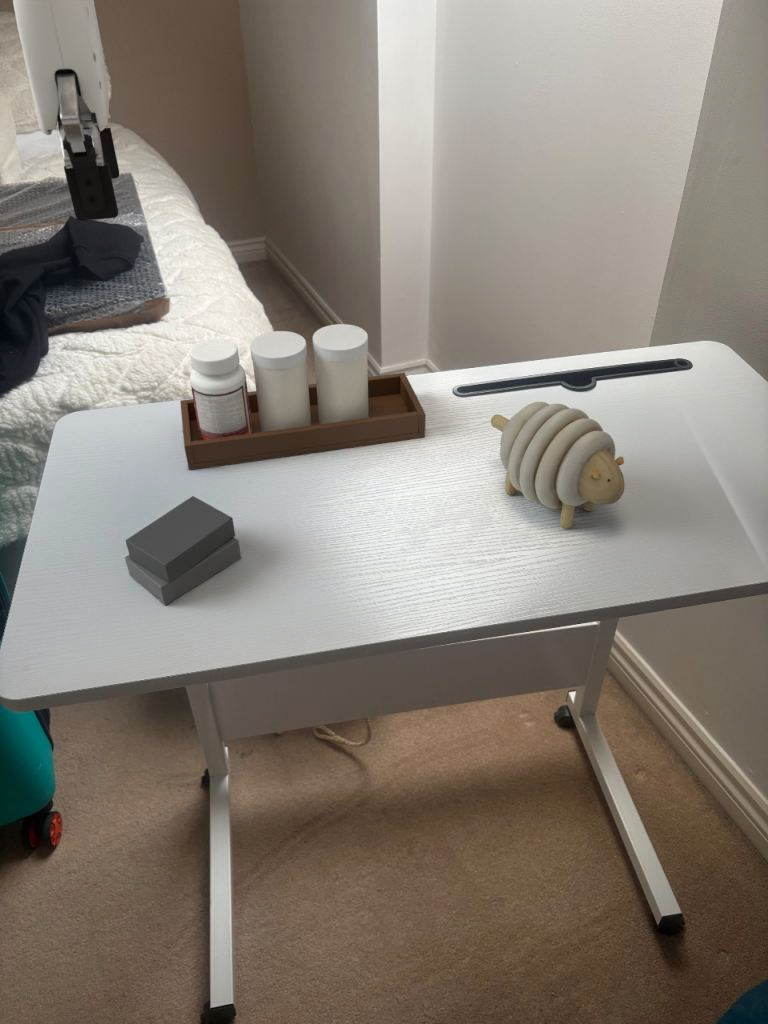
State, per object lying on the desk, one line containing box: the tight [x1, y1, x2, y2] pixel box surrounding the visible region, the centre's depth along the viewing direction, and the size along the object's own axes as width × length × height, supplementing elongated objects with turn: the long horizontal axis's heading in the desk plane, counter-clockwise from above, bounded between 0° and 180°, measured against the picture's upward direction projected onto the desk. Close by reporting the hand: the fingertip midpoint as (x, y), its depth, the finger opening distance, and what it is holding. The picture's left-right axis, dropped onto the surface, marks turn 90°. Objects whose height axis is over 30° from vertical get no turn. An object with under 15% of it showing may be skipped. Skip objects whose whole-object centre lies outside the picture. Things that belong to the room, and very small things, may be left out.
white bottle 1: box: [249, 330, 311, 432], centre depth 95 cm, size 6×6×11 cm
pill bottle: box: [189, 338, 252, 440], centre depth 94 cm, size 6×6×11 cm
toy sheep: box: [490, 401, 625, 530], centre depth 86 cm, size 11×17×11 cm, turn 46°
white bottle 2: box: [312, 323, 369, 424], centre depth 96 cm, size 6×6×11 cm
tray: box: [179, 372, 426, 471], centre depth 99 cm, size 28×10×3 cm, turn 103°
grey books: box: [124, 495, 242, 606], centre depth 80 cm, size 9×6×5 cm
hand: (99, 197), depth 69 cm, fingers open, 9 cm apart
